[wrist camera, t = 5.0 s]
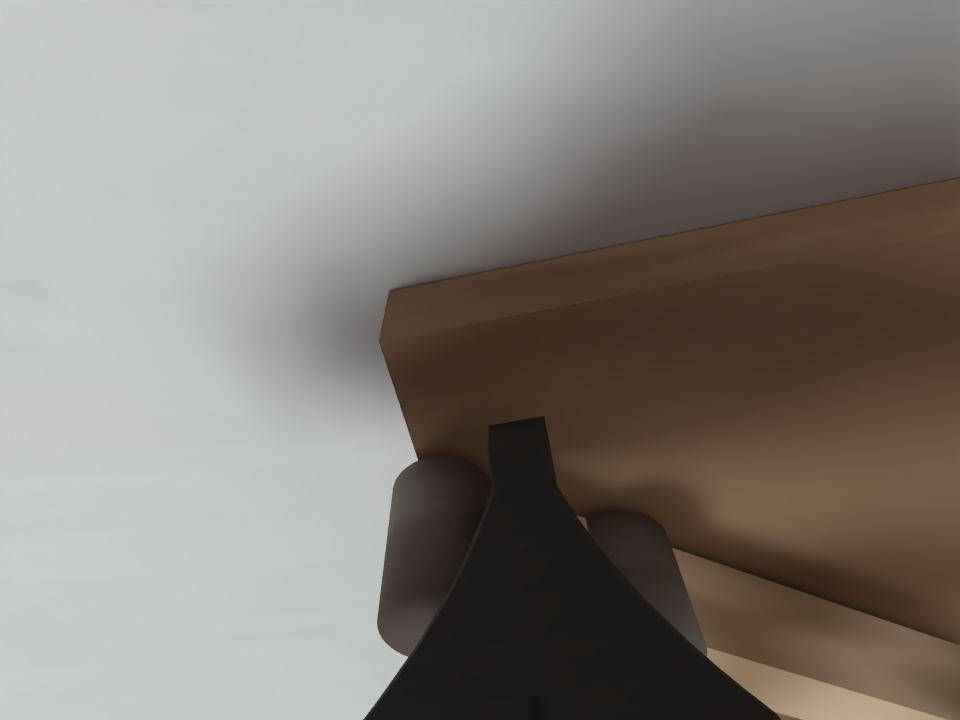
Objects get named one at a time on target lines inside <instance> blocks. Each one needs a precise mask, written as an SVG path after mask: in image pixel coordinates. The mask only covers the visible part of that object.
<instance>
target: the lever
mask: <svg viewBox="0 0 960 720" xmlns="http://www.w3.org/2000/svg"><path fill="white" fill-rule="evenodd" d="M491 488H492V485H491V482H490V480H489V478H488V477H487V475H486V474H485V473H484V472H483V471H482V470H481V469H480V468H479V467H477V466H476V465H474V464H472V463H471V462H468V461H466V460H463V459H460V458H456V457H449V456H436V457H429V458H425V459H422V460H419V461H417V462H415V463H413V464H411V465H410V466H408V467H407V468H405V469H404V470H403V471H402V472H401V473H400V475H399V476H398V477H397V479H396V481H395V483H394V487H393V494H392V502H391V510H390V519H389V527H388V536H387V544H386V552H385V561H384V569H383V577H382V586H381V594H380V603H379V611H378V620H377V625H378V630H379V633H380V635H381V637H382V639H383V640H384V641H385V642H386V643H387V644H388V645H389V646H390V647H391V648H393V649H394V650H395V651H397V652H399V653H401V654H403V655H405V656H408V657H409V656H410V654H411V653H412V651H413V650H414V648H415V647H416V645H417V644H418V642H419V640H420V639H421V637H422V636H423V634H424V632H425V631H426V629H427V627H428V626H429V624H430V622H431V620H432V619H433V617H434V615H435V614H436V612H437V610H438V608H439V607H440V605H441V603H442V602H443V600H444V598H445V596H446V594H447V592H448V590H449V588H450V586H451V585H452V583H453V581H454V579H455V577H456V575H457V573H458V571H459V569H460V567H461V564H462V562H463V560H464V558H465V556H466V554H467V551H468V549H469V547H470V544H471V542H472V539H473V537H474V534H475V532H476V530H477V527H478V525H479V522H480V520H481V517H482V515H483V512H484V509H485V507H486V504H487V500H488V497H489V494H490V491H491ZM576 516H577V515H576ZM577 517H578V518H579V520H580V521H581V523H582V524H583V525H584V527H585V528H586V529H587V531H588V532H589V534H590V535H591V536H592V538H593V539H594V540H595V541H596V543H597V544H598V545H599V547H600V548H601V549H602V550H603V552H604V553H605V554H606V555H607V557H608V558H609V559H610V560H611V561H612V562H613V564H614V565H615V566H616V567H617V568H618V569H619V571H620V572H621V573H622V574H623V575H624V576H625V577H626V579H627V580H628V581H629V582H630V583H631V584H632V585H633V586H634V587H635V588H636V589H637V591H638V592H639V593H640V594H641V595H642V596H643V597H644V598H645V599H646V600H647V601H648V602H649V603H650V604H651V605H652V606H653V607H654V608H655V609H656V610H657V611H658V612H659V613H660V614H661V615H662V616H663V617H664V618H665V619H666V620H667V621H668V622H669V623H670V624H672V625H673V626H674V627H675V628H676V629H677V630H678V631H679V632H680V633H681V634H682V635H683V636H684V637H685V638H686V639H687V640H688V641H689V642H690V643H691V644H693V645H694V646H695V647H696V648H697V649H698V650H699V651H701V652H702V653H703V654H704V655H705V656H706V657H707V658H709V659H710V660H711V661H712V662H713V663H714V664H715V665H717V666H718V667H719V668H720V669H721V670H722V671H724V672H725V673H726V674H727V675H729V676H730V677H731V678H732V679H733V680H735V681H736V682H737V683H738V684H740V685H741V686H742V687H743V688H744V689H746V690H747V691H748V692H750V693H751V694H752V695H753V696H755V697H756V698H757V699H759V700H760V701H761V702H762V703H764V704H765V705H766V706H768V707H769V708H770V709H771V710H773V711H774V712H777V713H780V714H784V715H788V716H791V717H795V718H798V719H802V720H960V646H959V645H956V644H954V643H951V642H948V641H945V640H942V639H939V638H936V637H933V636H930V635H927V634H924V633H921V632H918V631H915V630H912V629H909V628H907V627H904V626H901V625H898V624H895V623H892V622H889V621H886V620H883V619H880V618H877V617H874V616H871V615H868V614H865V613H862V612H860V611H857V610H854V609H851V608H848V607H845V606H842V605H839V604H836V603H833V602H830V601H827V600H824V599H821V598H818V597H815V596H812V595H810V594H807V593H804V592H801V591H798V590H795V589H792V588H789V587H786V586H783V585H780V584H777V583H774V582H771V581H768V580H765V579H763V578H760V577H757V576H754V575H751V574H748V573H745V572H742V571H739V570H736V569H733V568H730V567H727V566H724V565H721V564H718V563H716V562H713V561H710V560H707V559H704V558H701V557H698V556H695V555H692V554H689V553H686V552H683V551H680V550H677V549H674V548H672V547H671V544H670V541H669V538H668V535H667V533H666V531H665V529H664V528H663V526H662V525H661V524H660V523H659V522H657V521H656V520H655V519H653V518H651V517H650V516H647V515H645V514H642V513H639V512H634V511H626V510H614V511H606V512H602V513H598V514H595V515H592V516H590V517H587V518H583V517H580V516H577Z"/></svg>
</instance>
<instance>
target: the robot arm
mask: <svg viewBox="0 0 960 720" xmlns="http://www.w3.org/2000/svg"><path fill="white" fill-rule="evenodd" d="M488 455H489V461H490V466H491V472H492V478H493V485H492V488H491V491H490V494H489V497H488V500H487V504H486V507H485V509H484V512H483V515H482V517H481V520H480V522H479V525H478V527H477V530H476V532H475V534H474V537H473V539H472V542H471V544H470V547H469V549H468V551H467V554H466V556H465V558H464V560H463V562H462V564H461V567H460V569H459V571H458V573H457V575H456V577H455V579H454V581H453V583H452V585H451V586H450V588H449V590H448V592H447V594H446V596H445V598H444V600H443V602H442V603H441V605H440V607H439V608H438V610H437V612H436V614H435V615H434V617H433V619H432V620H431V622H430V624H429V626H428V627H427V629H426V631H425V632H424V634H423V636H422V637H421V639H420V640H419V642H418V644H417V645H416V647H415V648H414V650H413V651H412V653H411V654H410V656H409V657H408V659H407V660H406V662H405V663H404V664H403V666H402V667H401V669H400V670H399V671H398V673H397V674H396V676H395V677H394V679H393V680H392V681H391V683H390V684H389V686H388V687H387V688H386V690H385V691H384V693H383V694H382V696H381V697H380V698H379V700H378V701H377V703H376V704H375V705H374V707H373V708H372V709H371V710H370V712H369V713H368V714H367V716H366V717H365V718H364V719H363V720H781V719H780V717H779V716H778V715H777V714H776V713H775V712H774V711H773V710H771V709H770V708H769V707H768V706H766V705H765V704H764V703H762V702H761V701H760V700H759V699H757V698H756V697H755V696H753V695H752V694H751V693H750V692H748V691H747V690H746V689H744V688H743V687H742V686H741V685H740V684H738V683H737V682H736V681H735V680H733V679H732V678H731V677H730V676H729V675H727V674H726V673H725V672H724V671H722V670H721V669H720V668H719V667H718V666H717V665H715V664H714V663H713V662H712V661H711V660H710V659H709V658H707V657H706V656H705V655H704V654H703V653H702V652H701V651H699V650H698V649H697V648H696V647H695V646H694V645H693V644H691V643H690V642H689V641H688V640H687V639H686V638H685V637H684V636H683V635H682V634H681V633H680V632H679V631H678V630H677V629H676V628H675V627H674V626H673V625H672V624H670V623H669V622H668V621H667V620H666V619H665V618H664V617H663V616H662V615H661V614H660V613H659V612H658V611H657V610H656V609H655V608H654V607H653V606H652V605H651V604H650V603H649V602H648V601H647V600H646V599H645V598H644V597H643V596H642V595H641V594H640V593H639V592H638V591H637V589H636V588H635V587H634V586H633V585H632V584H631V583H630V582H629V581H628V580H627V579H626V577H625V576H624V575H623V574H622V573H621V572H620V571H619V569H618V568H617V567H616V566H615V565H614V564H613V562H612V561H611V560H610V559H609V558H608V557H607V555H606V554H605V553H604V552H603V550H602V549H601V548H600V547H599V545H598V544H597V543H596V541H595V540H594V539H593V538H592V536H591V535H590V534H589V532H588V531H587V529H586V528H585V527H584V525H583V524H582V523H581V521H580V520H579V518H578V517H577V516H576V514H575V513H574V511H573V510H572V508H571V507H570V505H569V504H568V502H567V501H566V499H565V497H564V496H563V494H562V492H561V491H560V489H559V488H558V486H557V481H556V475H555V470H554V464H553V459H552V454H551V448H550V443H549V438H548V432H547V427H546V421H545V416H541V417H535V418H529V419H523V420H518V421H512V422H506V423H500V424H495V425H489V432H488Z"/></svg>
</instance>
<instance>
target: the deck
mask: <svg viewBox="0 0 960 720" xmlns="http://www.w3.org/2000/svg"><path fill="white" fill-rule="evenodd" d="M379 343H380V346H381V349H382V352H383V355H384V358H385V361H386V364H387V367H388V370H389V373H390V376H391V379H392V382H393V385H394V388H395V391H396V394H397V397H398V400H399V403H400V406H401V409H402V412H403V415H404V418H405V421H406V424H407V427H408V430H409V433H410V437H411V440H412V443H413V446H414V449H415V452H416V455H417V458H418V461H419V460H422V459H425V458H429V457H436V456H449V457H456V458H460V459H463V460H466V461H468V462H471V463H472V464H474V465H476V466H477V467H479V468H480V469H481V470H482V471H483V472H484V473H485V474H486V475H487V477H488V478H489V480H490V482H491V485H493V478H492V472H491V466H490V461H489V455H488V432H489V425H495V424H500V423H506V422H512V421H518V420H523V419H529V418H535V417H541V416H545V421H546V427H547V432H548V438H549V443H550V448H551V454H552V459H553V464H554V470H555V475H556V481H557V486H558V488H559V489H560V491H561V492H562V494H563V496H564V497H565V499H566V501H567V502H568V504H569V505H570V507H571V508H572V510H573V511H574V513H575V514H576V515H577V516H580V517H583V518H587V517H590V516H592V515H595V514H598V513H602V512H606V511H614V510H626V511H634V512H639V513H642V514H645V515H647V516H650V517H651V518H653V519H655V520H656V521H657V522H659V523H660V524H661V525H662V526H663V528H664V529H665V531H666V533H667V535H668V538H669V541H670V544H671V547H672V548H674V549H677V550H680V551H683V552H686V553H689V554H692V555H695V556H698V557H701V558H704V559H707V560H710V561H713V562H716V563H718V564H721V565H724V566H727V567H730V568H733V569H736V570H739V571H742V572H745V573H748V574H751V575H754V576H757V577H760V578H763V579H765V580H768V581H771V582H774V583H777V584H780V585H783V586H786V587H789V588H792V589H795V590H798V591H801V592H804V593H807V594H810V595H812V596H815V597H818V598H821V599H824V600H827V601H830V602H833V603H836V604H839V605H842V606H845V607H848V608H851V609H854V610H857V611H860V612H862V613H865V614H868V615H871V616H874V617H877V618H880V619H883V620H886V621H889V622H892V623H895V624H898V625H901V626H904V627H907V628H909V629H912V630H915V631H918V632H921V633H924V634H927V635H930V636H933V637H936V638H939V639H942V640H945V641H948V642H951V643H954V644H956V645H959V646H960V178H956V179H951V180H946V181H941V182H936V183H931V184H926V185H921V186H916V187H911V188H906V189H901V190H896V191H891V192H886V193H881V194H876V195H871V196H866V197H861V198H856V199H850V200H845V201H840V202H835V203H830V204H825V205H820V206H815V207H810V208H805V209H800V210H795V211H790V212H785V213H780V214H775V215H770V216H765V217H760V218H755V219H750V220H745V221H740V222H734V223H729V224H724V225H719V226H714V227H709V228H704V229H699V230H694V231H689V232H684V233H679V234H674V235H669V236H664V237H659V238H654V239H649V240H644V241H639V242H634V243H629V244H624V245H619V246H613V247H608V248H603V249H598V250H593V251H588V252H583V253H578V254H573V255H568V256H563V257H558V258H553V259H548V260H543V261H538V262H533V263H528V264H523V265H518V266H513V267H508V268H503V269H497V270H492V271H487V272H482V273H477V274H472V275H467V276H462V277H457V278H452V279H447V280H442V281H437V282H432V283H427V284H422V285H417V286H412V287H407V288H402V289H397V290H392V291H389V294H388V299H387V304H386V309H385V314H384V319H383V324H382V329H381V334H380V339H379ZM775 713H776V714H777V715H778V716H779V717H780V719H781V720H802V719H798V718H795V717H791V716H788V715H784V714H780V713H777V712H775Z"/></svg>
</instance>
